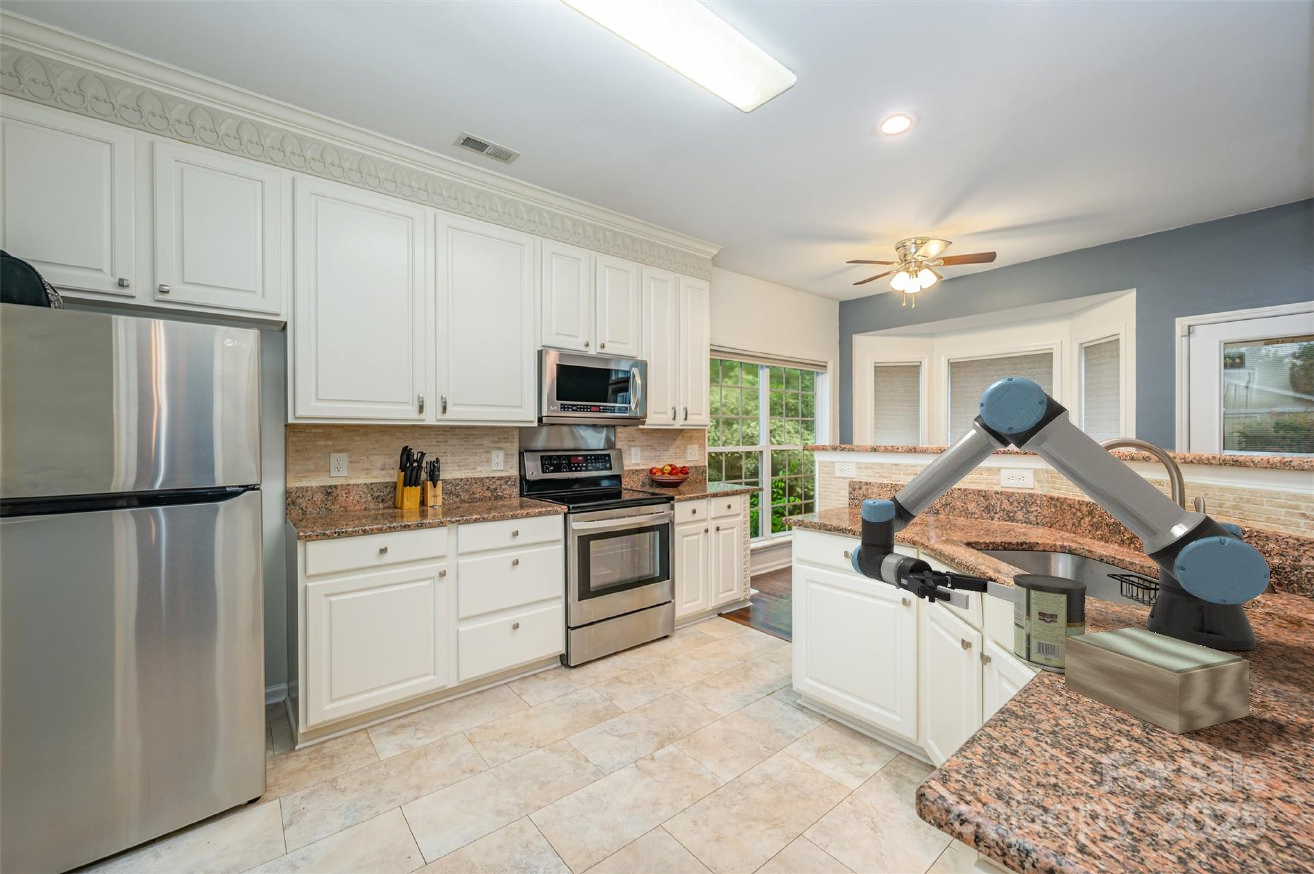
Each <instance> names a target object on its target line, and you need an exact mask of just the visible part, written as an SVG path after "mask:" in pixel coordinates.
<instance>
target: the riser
mask: <svg viewBox="0 0 1314 874" xmlns="http://www.w3.org/2000/svg"><path fill="white" fill-rule="evenodd" d="M1064 688H1065V689H1067V690H1069V691H1073V692H1075V693H1077V694H1080V695H1083V696H1085V697H1087V698H1090V699H1092V700H1093V701H1097V702H1099V703H1102V704H1103V705H1106V706H1109V707H1110V708H1114V709H1116V710H1118V711H1121V712H1123V713H1126V714H1128V715H1131V716H1133V717H1136V718H1138V719H1140V720H1143V721H1145V722H1148V723H1150V724H1153V725H1155V726H1157V727H1159V728H1162V729H1165V730H1167V731H1170V732H1172V733H1174V734H1177V735H1180V734H1185V733H1188V732H1192V731H1197V730H1200V729H1205V728H1208V727H1210V726H1211V727H1212V726H1216V725H1218V724H1222V723H1227V722H1231V721H1234V720H1238V719H1241V718H1242V719H1243V718H1245V717H1250V660H1247V659H1243V656H1239V655H1236V654H1232V653H1228V652H1226V651H1221V650H1219V649H1215V648H1209V647H1204V646H1200V645H1197V644H1193V643H1189V642H1186V641H1182V640H1179V639H1175V638H1171V637H1168V636H1164V635H1161V634H1157V633H1154V632H1152V631H1150V630H1146V629H1142V628H1138V627H1135V626H1132V627H1125V628H1117V629H1111V630H1104V631H1099V632H1091V633H1085V634H1083V635H1076V636H1071V637H1069V638H1065V673H1064Z"/></svg>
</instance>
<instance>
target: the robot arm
mask: <svg viewBox="0 0 1314 874" xmlns="http://www.w3.org/2000/svg"><path fill="white" fill-rule="evenodd" d="M978 408H979V414H978V415H977V416H976V417H975V418H974V419H972V426H971V427H970V428H969V429H968V430H967V431H966V432H965V433H963V434H962V435H961V436H960V437H959V438H958V439H957V440H955V441H954V442H953V443H952V444H951V445H949V446H948V447H947V448H946V449H945V450H944V451H943V452H941V454H940V455H939V456H937V457H936V458H935V459H934V460H933V461H931V463H929V464H928V465H927V466H926V467H925V468H924V469H922V471H920V472H919V473H918V474H917V475H916V476H915V477H913V479H911V480H910V481H909V482H908V483H907V484H906V485H904V486H903V487H902V488H901V489H899V491H898V492H897V493H895V494H894V495H893V496H892V497H891V498H889V499H879V498H868V499H867V498H866V499H864V500H863V501H862V504H861V505H862V506H861V513H860V516H861V536H860V537H861V538H860V539H861V541H860V545H858V546H856V548H854V550H853V553H852V555H851V557H850V561H851V562H850V563H851V566H852V568H853V570H854V571H856V572H857V573H858V574H860V575H863V576H865V577H866V578H868V579H872V580H876V581H879V582H882V583H885V584H887V585H891V586H894V587H895V589H896V590H900V589H902V590H905V591H908V592H910V593H913V595H915V596H916V597H918V598H919V599H921V600H925V599H926V597H927V598H928V600H927V601H928V602H929V603H930V604H935V603H936V600H937V601H939V602H943V603H945V604H948V605H951V606H954V607H956V608H960V609H963V610H969V607H970V605H969V604H970V603H969V602H970V601H969V600H970V594H968V593H964V592H961V591H958V590H963V591H969V592H978V593H982V594H983V593H984V594H987V596H989V597H994V598H997V599H1001V600H1003V601H1007V602H1011V603H1013V604H1014V586H1008V585H1005V584H1001V583H997V580H996V579H994V578H993V577H991V576H989V577H988V578H986V577H980V576H975V575H968V574H963V573H957V572H952V571H949V570H946V571H945V572H942V571H941V570H936V569H935V570H934V569H933V568H932V567H931V565H930V564H929V563H928V562H927V561H925V560H924V559H920V558H916V557H912V556H909V555H906V554H901V553H898V552H895V534H896V533H899V532H902V531H903V530H904V529H906V528H907V527H908V526H909V524H910V523H912V521H913V520H915V519H916V518H917V517H918V516H919V515H920V514H922V513H923V512H924V511H925V510H926V509H927V508H929V507H930V506H932V505H933V503H935V502H936V501H937V500H939V499H940V498H941V497H943V495H945V494H946V493H947V492H948V491H950V489H951V488H953V487H954V486H956V484H958V483H959V482H960V481H961V480H963V479H964V478H965V477H966V476H968V475H969V474H970V473H971V472H973V471H974V469H976V468H977V467H979V465H980V464H981V463H982V462H984V461H985V460H986V459H988V458H989V457H990V456H991V455H993V453H995V452H996V451H997V450H998V449H1007V448H1008V447H1009V446H1010V445H1014V446H1015V448H1017V449H1018V450H1019V451H1023V452H1024V451H1025V452H1026V451H1027V452H1028V451H1029V452H1034V453H1035V454H1036V455H1038V456H1039V458H1041V459H1042V460H1043V461H1045V462H1046V463H1047V464H1049V465H1050V466H1051V467H1052V468H1054V469H1055V470H1056V471H1057V472H1058V473H1060V474H1061V475H1062V476H1063V477H1064V478H1065V479H1067V480H1068V481H1069V482H1071V484H1073V485H1074V486H1075V487H1076V488H1078V489H1079V490H1080V491H1081V492H1082V493H1084V494H1085V495H1086V496H1088V497H1089V498H1090V499H1091V500H1093V502H1095V503H1096V504H1098V506H1100V507H1101V508H1102V509H1104V511H1106V512H1107V513H1108V514H1110V515H1111V516H1112V517H1113V518H1114V519H1116V520H1117V521H1118V522H1119V523H1121V525H1124V527H1125V528H1127V529H1128V530H1129V531H1130V532H1132V534H1134V535H1135V536H1136V537H1138V538H1139V539H1140V540H1141V541H1142V544H1143V545H1142V547H1143V549H1142V550H1143V553H1144V555H1146V556H1147V557H1149V559H1151V560H1152V561H1153V562H1154V563H1156V564H1157V565H1158V566H1159V567H1158V568H1159V569H1158V571H1159V573H1158V574H1159V576H1158V577H1159V578H1158V579H1159V580H1158V581H1159V582H1158V583H1159V590H1158V591H1159V592H1158V593H1157V596H1156V598H1155V601H1154V603H1153V604H1152V607H1151V610H1150V612H1149V614H1148V616H1147V629H1148V628H1149V629H1150V630H1151V631H1150V630H1149V629H1148V630H1149V631H1150V632H1152V631H1153V633H1154V632H1156V633H1157V634H1161V635H1164V636H1168V637H1171V638H1175V639H1179V640H1182V641H1186V642H1189V643H1193V644H1197V645H1202V646H1207V648H1209V647H1214V648H1213V649H1215V648H1217V649H1216V650H1223V649H1225V651H1233V650H1249V651H1253V649H1254V650H1256V647H1257V639H1256V638H1257V637H1256V634H1255V632H1254V630H1253V628H1252V625H1251V623H1250V621H1249V618H1248V615H1247V612H1246V611H1245V609H1244V606H1243V603H1246V602H1250V601H1252V600H1254V599H1256V598H1257V597H1258V596H1260V595H1261V594H1263V593H1264V591H1265V590H1266V589H1267V587H1268V585H1269V583H1270V579H1271V572H1270V567H1269V565H1268V563H1267V561H1266V559H1265V557H1264V556H1263V554H1262V553H1261V552H1260V551H1259V550H1258V549H1257V548H1256V547H1255V546H1253V545H1251V544H1250V543H1248V542H1244V540H1245V537H1244V535H1243V530H1242V528H1241V526H1239V525H1237V524H1235V523H1227V522H1217V521H1216V520H1214V519H1213V518H1211V517H1210V516H1209V515H1208V514H1206V513H1205V512H1202V511H1188V510H1186V509H1184V508H1183V506H1181V505H1180V504H1178V503H1177V502H1175V501H1174V500H1172V498H1170V497H1169V496H1167V495H1166V494H1165V493H1163V492H1162V491H1161V490H1159V489H1158V488H1157V487H1156V486H1155V485H1153V484H1152V483H1151V482H1149V481H1148V480H1147V479H1146V478H1144V477H1142V476H1141V475H1140V474H1139V473H1137V472H1136V471H1135V470H1133V469H1132V468H1131V467H1129V465H1127V464H1126V463H1124V462H1123V461H1122V460H1120V459H1119V458H1118V457H1116V456H1115V455H1114V454H1113V453H1111V452H1110V451H1108V450H1107V449H1106V448H1105V447H1103V446H1102V445H1101V444H1100V443H1098V442H1097V441H1096V440H1094V439H1093V438H1092V437H1090V436H1089V435H1088V434H1086V433H1085V432H1084V431H1082V430H1081V429H1080V428H1078V427H1077V426H1076V425H1075V424H1074V423H1072V421H1071V420H1070V411H1069V409H1068V408H1066V407H1064V406H1063V405H1062V404H1061V403H1059V402H1058V400H1056V399H1054V398H1053V397H1051V396H1050V395H1049V394H1048V393H1047V392H1045V391H1044V389H1043V388H1042V387H1041V385H1039V384H1038V383H1036V382H1035V381H1033V380H1031V379H1028V378H1024V377H1018V376H1017V377H1015V376H1014V377H1013V376H1012V377H1006V378H1002V379H999V380H997V381H995V382H993V383H992V384H990V385H989V386H988V387H987V388H986V389H985V391H983V394H982V395H981V397H980V401H979V407H978ZM949 585H950V586H949Z"/></svg>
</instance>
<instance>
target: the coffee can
mask: <svg viewBox="0 0 1314 874" xmlns="http://www.w3.org/2000/svg"><path fill="white" fill-rule="evenodd" d="M1012 581H1013V588H1014V603H1013V657H1014V658H1015V659H1016V660H1017V661H1019V662H1021V663H1023V664H1025V665H1028V666H1029V667H1032V668H1035V669H1039V670H1043V669H1044V668H1045V669H1044V670H1043V671H1048V672H1052V673H1059V674H1065V638H1069V637H1071V636H1076V635H1083V634H1086V591H1087V584H1085V583H1083V582H1081V581H1078V580H1075V579H1073V578H1067V577H1061V576H1055V575H1050V574H1049V575H1048V574H1040V573H1039V574H1038V573H1019V574H1018V573H1017V574H1015V575H1012Z"/></svg>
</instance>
